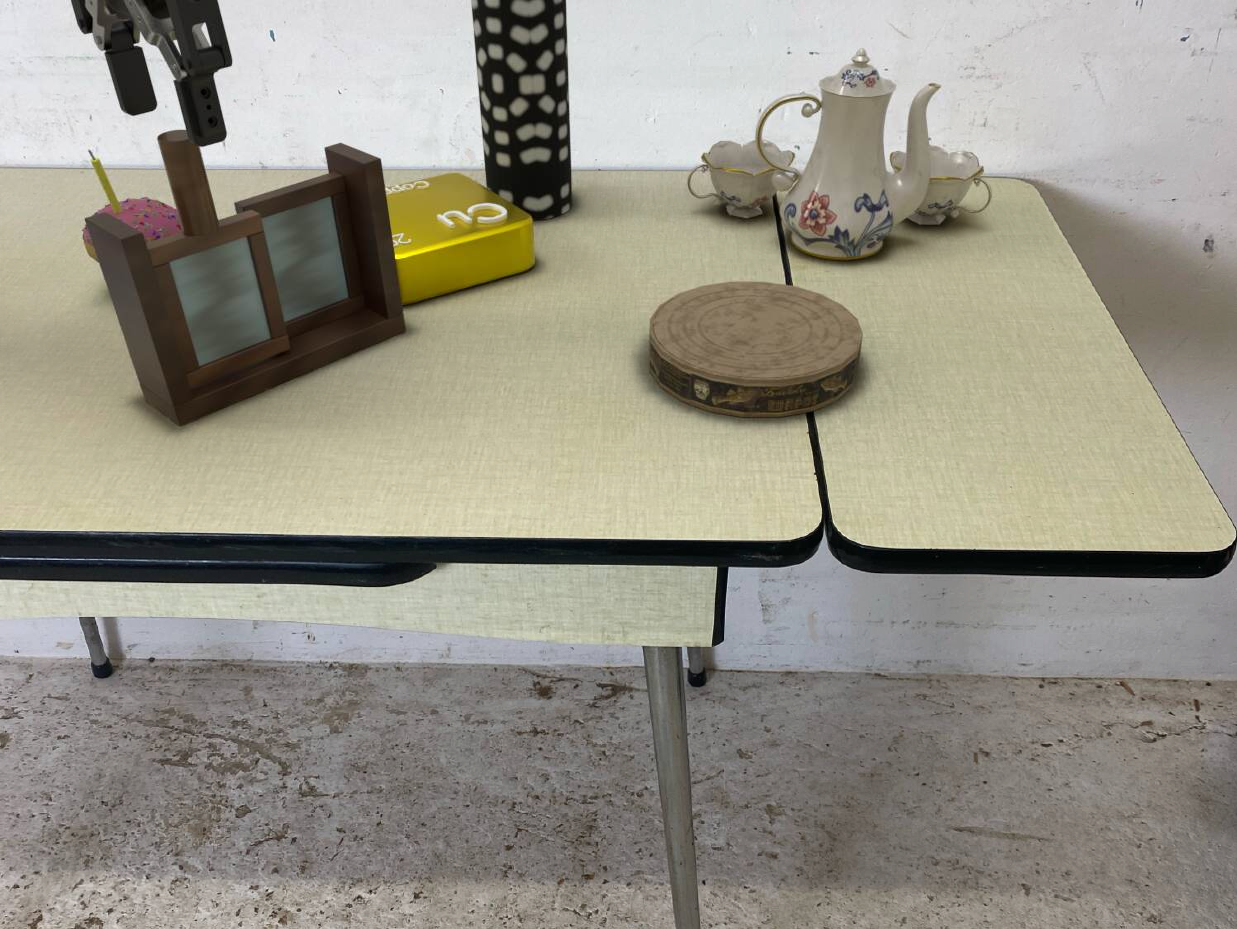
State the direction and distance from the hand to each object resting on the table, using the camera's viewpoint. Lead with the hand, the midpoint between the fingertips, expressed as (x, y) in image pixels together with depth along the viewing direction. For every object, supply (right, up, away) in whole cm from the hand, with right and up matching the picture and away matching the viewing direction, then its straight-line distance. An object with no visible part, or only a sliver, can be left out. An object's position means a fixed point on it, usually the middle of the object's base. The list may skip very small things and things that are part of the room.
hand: (174, 127), depth 68 cm
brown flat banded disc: (+38, -11, +15) cm, 43 cm away
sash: (0, -12, +11) cm, 17 cm away
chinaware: (+48, +6, +34) cm, 60 cm away
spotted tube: (+19, +10, +39) cm, 45 cm away
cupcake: (-12, -2, +25) cm, 28 cm away
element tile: (+11, +1, +29) cm, 31 cm away
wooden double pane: (+2, -11, +15) cm, 19 cm away
